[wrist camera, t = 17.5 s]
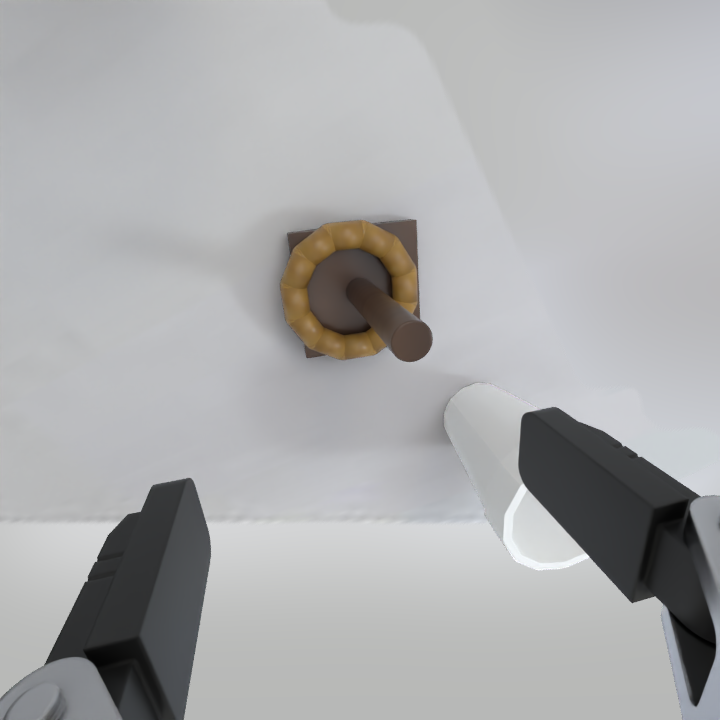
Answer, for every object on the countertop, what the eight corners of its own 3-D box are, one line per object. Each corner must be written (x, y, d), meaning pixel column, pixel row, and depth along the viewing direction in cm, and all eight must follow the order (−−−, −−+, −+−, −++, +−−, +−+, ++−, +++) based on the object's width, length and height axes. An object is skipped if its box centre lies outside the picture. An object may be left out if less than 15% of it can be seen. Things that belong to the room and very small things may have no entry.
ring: (292, 362, 30) (293, 371, 28) (270, 228, 27) (270, 229, 25) (415, 343, 32) (422, 351, 30) (409, 214, 28) (418, 214, 26)
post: (305, 351, 32) (326, 444, 19) (287, 232, 28) (298, 251, 16) (414, 335, 33) (500, 411, 21) (409, 219, 30) (508, 227, 17)
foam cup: (494, 466, 40) (590, 577, 28) (411, 447, 37) (478, 562, 25) (539, 380, 37) (665, 462, 25) (453, 353, 34) (550, 431, 22)
